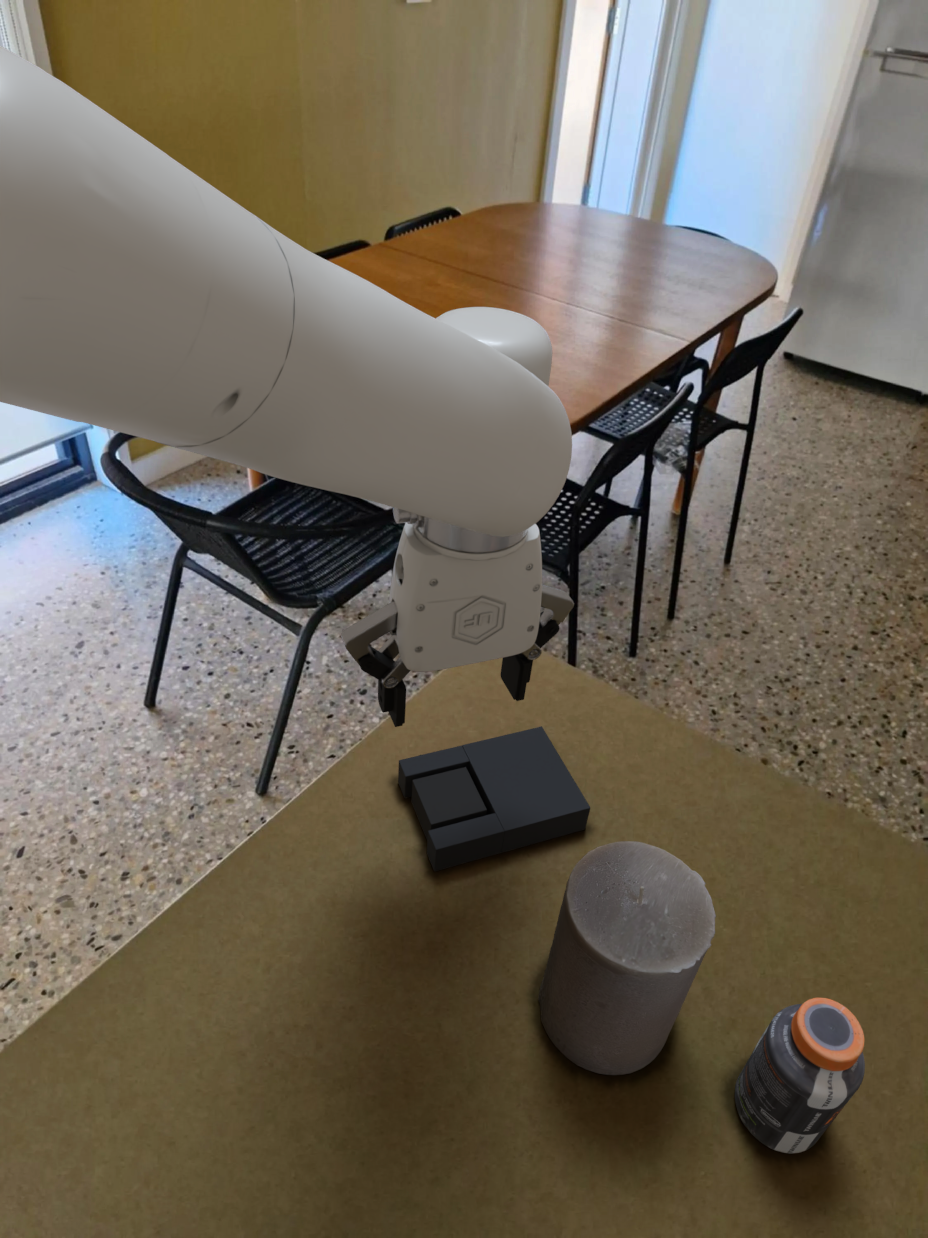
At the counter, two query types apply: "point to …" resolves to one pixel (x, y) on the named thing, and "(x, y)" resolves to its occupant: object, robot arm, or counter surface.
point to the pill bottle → (801, 1074)
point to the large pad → (502, 796)
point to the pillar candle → (624, 955)
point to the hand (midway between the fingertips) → (454, 701)
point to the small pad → (446, 799)
